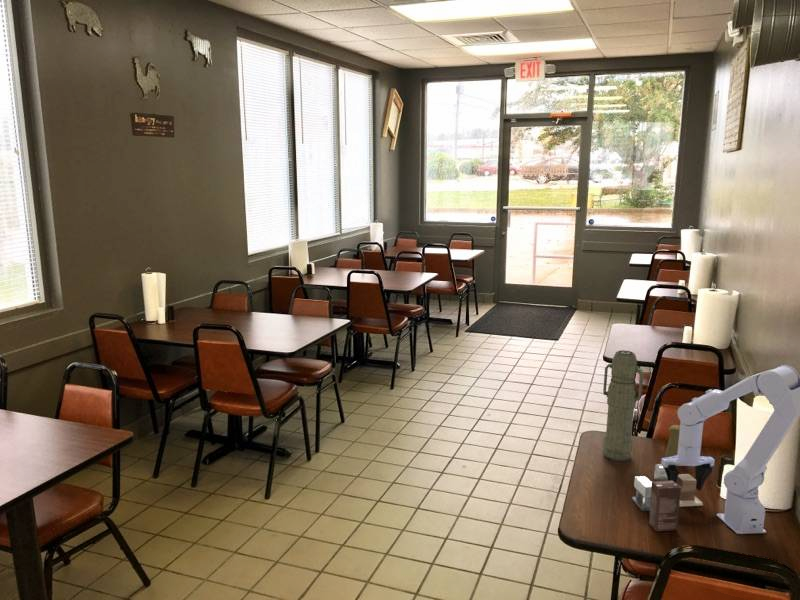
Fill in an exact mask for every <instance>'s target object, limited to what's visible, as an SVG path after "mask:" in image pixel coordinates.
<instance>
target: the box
mask: <svg viewBox="0 0 800 600" xmlns="http://www.w3.org/2000/svg"><path fill="white" fill-rule="evenodd" d="M651 482H652V486H651V501H650V511H649V517H648V518H649V519H648V521H649V522H648V524H649V525H650V526H651V528H653V530H655V532H666V531H671V532H672V531H679V529H678V528H679V514H680V507H679V505H680V492H681V487H680V486H679V485H678V484H676V483H675V482H674V481H673V480H672V481H657V480H655V481H651Z"/></svg>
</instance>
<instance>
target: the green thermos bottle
mask: <svg viewBox="0 0 800 600" xmlns="http://www.w3.org/2000/svg"><path fill="white" fill-rule="evenodd" d="M609 368H610V369H611V372H610V373H611V374H610V375H611V378H610V383H609V384H607V382H608V371H609ZM637 372H638V374H639V381H638V389H637V386H636V384H637V382H636V378H637ZM644 374H645V373H644V371H643V369H642V368H639V367H638V359H637V356H636V354H635V353H634V352H633V351H630V350H622V349H621V350H617V351H615V354H614V355H613V358H612V361H611V363H608V364H607V365H605V367H604V377H603V390H602V391H603V396H606V398H607V399H606V403H607V415H606V416H607V417H606V431H605V434H604V436H603V456H604V457H605V456H606V457H605V458H607V459H609V458H610V459H609V460H612V461H615V462H616V461H617V462H625V461H629V460H631V459H632V452H633V444H634V443H633V442H634V440H633V435H632V434H633V433H632V432H633V425H634V424H633V422H634V412H635V411H634V410H635V408H636V405H637V402H638V401H640V400H641V399H642V391H643V384H644V378H645V377H644ZM607 385H608V387H607Z"/></svg>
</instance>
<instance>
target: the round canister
mask: <svg viewBox="0 0 800 600" xmlns="http://www.w3.org/2000/svg"><path fill="white" fill-rule="evenodd" d="M653 474H654V477H653V478H654V480H655V481H668V478H667V475H666V472H665V469H664V467H663V466H662V465H661V463H657V464H655V466H654V473H653Z"/></svg>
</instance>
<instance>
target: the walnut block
mask: <svg viewBox="0 0 800 600" xmlns="http://www.w3.org/2000/svg"><path fill="white" fill-rule="evenodd" d="M696 482H697V480H696V479H695V477H693V476H692V475H691V474H690V473H679V475H678V478H677V482H676V484H678V485H679V486H680V487H681V492H680V500H681V501H690V500H695V497H696V490H697V489H696Z"/></svg>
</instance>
